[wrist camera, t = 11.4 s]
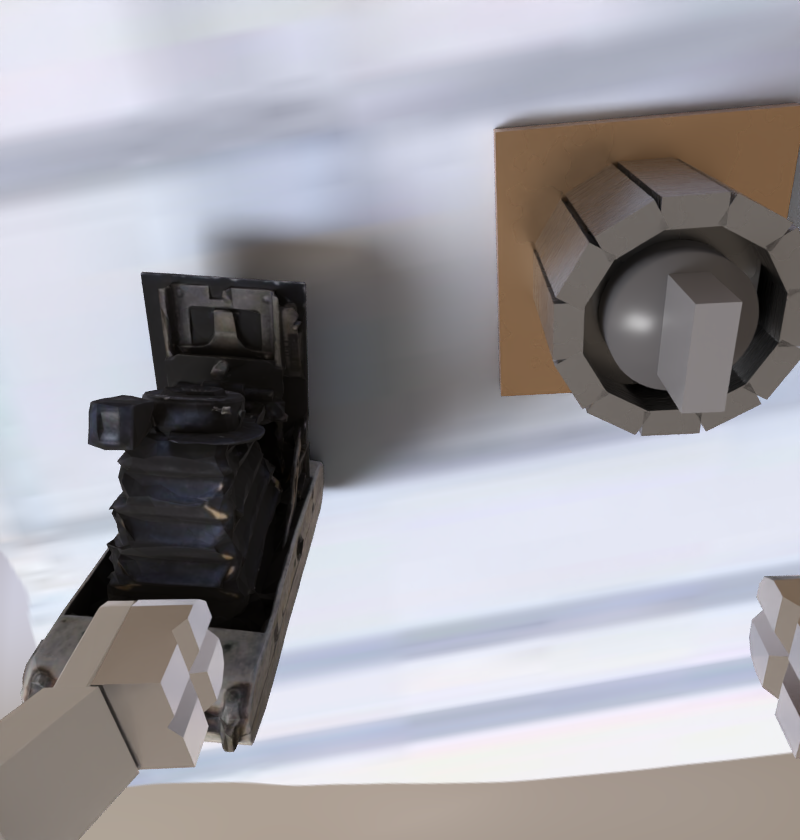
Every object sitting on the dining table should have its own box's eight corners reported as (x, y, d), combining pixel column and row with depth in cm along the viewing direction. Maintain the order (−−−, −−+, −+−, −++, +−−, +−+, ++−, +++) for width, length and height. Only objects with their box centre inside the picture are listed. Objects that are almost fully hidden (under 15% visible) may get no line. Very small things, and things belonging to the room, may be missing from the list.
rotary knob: (602, 244, 30) (634, 285, 25) (751, 235, 29) (812, 275, 24) (594, 373, 33) (621, 433, 28) (729, 367, 32) (780, 427, 27)
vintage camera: (332, 263, 39) (226, 435, 21) (330, 500, 46) (250, 778, 28) (158, 251, 39) (-90, 410, 22) (182, 488, 46) (11, 754, 29)
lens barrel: (493, 128, 35) (508, 160, 27) (795, 102, 33) (905, 127, 25) (499, 386, 41) (512, 474, 33) (750, 373, 40) (827, 461, 32)
